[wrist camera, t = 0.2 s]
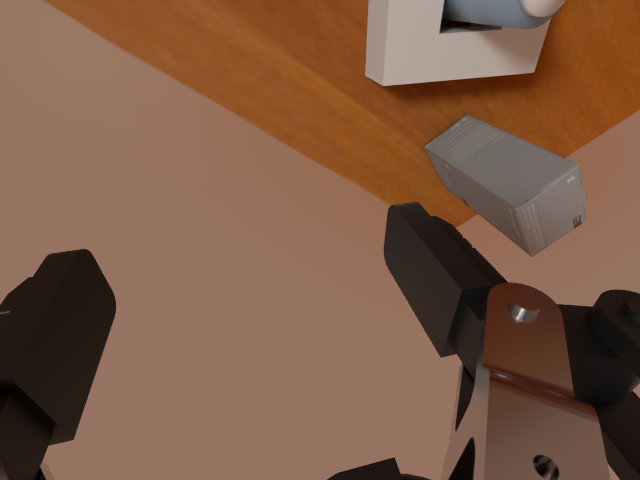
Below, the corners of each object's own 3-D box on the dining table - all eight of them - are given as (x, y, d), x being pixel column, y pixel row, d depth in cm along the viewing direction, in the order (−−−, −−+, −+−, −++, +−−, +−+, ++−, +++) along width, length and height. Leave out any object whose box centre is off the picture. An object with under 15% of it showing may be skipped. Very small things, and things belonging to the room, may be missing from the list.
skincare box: (421, 146, 42) (505, 211, 29) (472, 107, 40) (584, 159, 28) (445, 191, 47) (526, 264, 34) (492, 159, 45) (594, 222, 33)
